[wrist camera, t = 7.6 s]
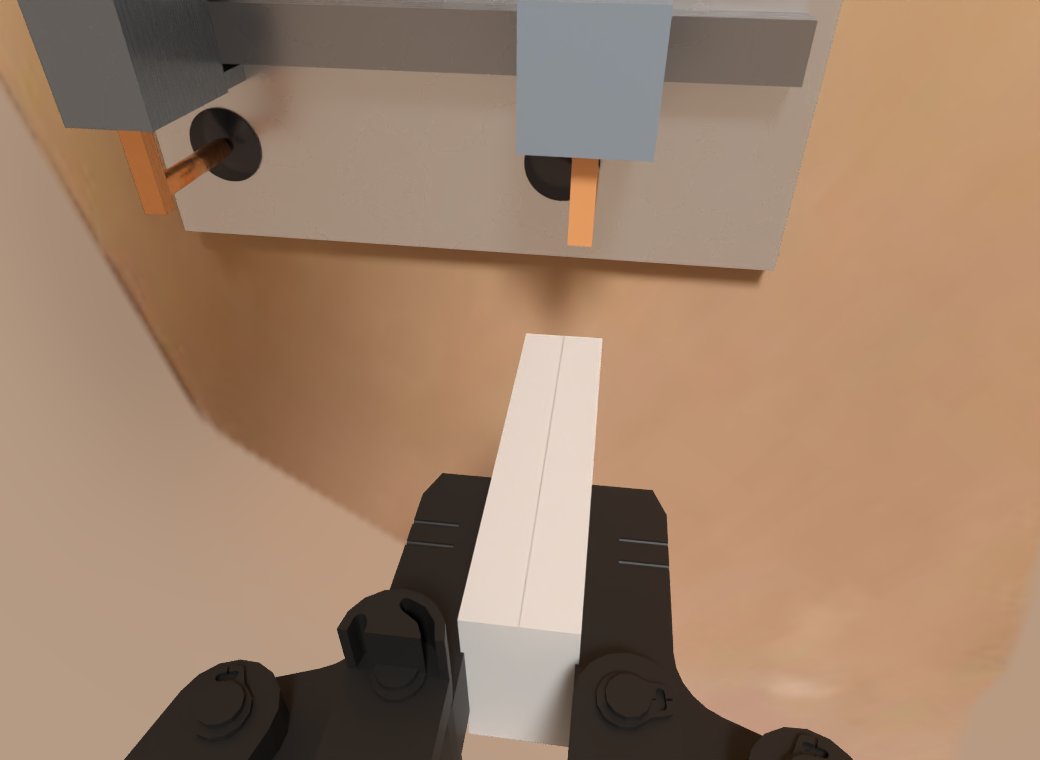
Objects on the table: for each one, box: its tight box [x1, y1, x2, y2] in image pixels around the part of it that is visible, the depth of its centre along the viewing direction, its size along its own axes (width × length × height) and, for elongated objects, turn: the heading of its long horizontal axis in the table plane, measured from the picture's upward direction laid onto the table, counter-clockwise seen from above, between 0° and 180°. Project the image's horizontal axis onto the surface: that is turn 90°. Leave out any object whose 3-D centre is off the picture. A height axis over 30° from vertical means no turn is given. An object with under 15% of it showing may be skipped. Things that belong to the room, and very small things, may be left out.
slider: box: [516, 0, 673, 247], centre depth 22 cm, size 7×4×6 cm, turn 179°
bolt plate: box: [17, 0, 843, 271], centre depth 23 cm, size 14×26×8 cm, turn 89°
